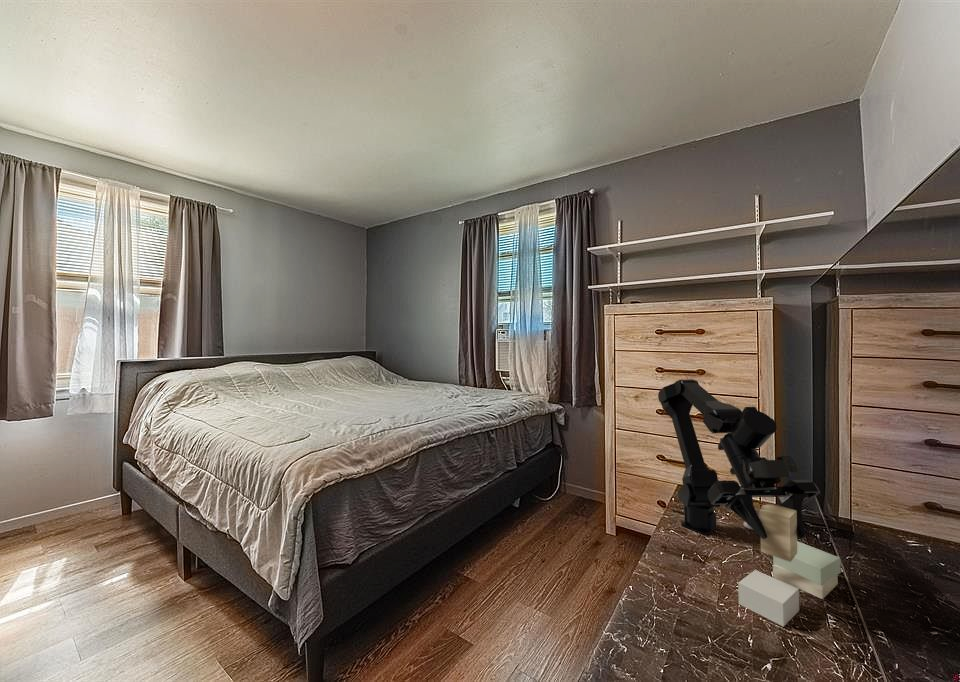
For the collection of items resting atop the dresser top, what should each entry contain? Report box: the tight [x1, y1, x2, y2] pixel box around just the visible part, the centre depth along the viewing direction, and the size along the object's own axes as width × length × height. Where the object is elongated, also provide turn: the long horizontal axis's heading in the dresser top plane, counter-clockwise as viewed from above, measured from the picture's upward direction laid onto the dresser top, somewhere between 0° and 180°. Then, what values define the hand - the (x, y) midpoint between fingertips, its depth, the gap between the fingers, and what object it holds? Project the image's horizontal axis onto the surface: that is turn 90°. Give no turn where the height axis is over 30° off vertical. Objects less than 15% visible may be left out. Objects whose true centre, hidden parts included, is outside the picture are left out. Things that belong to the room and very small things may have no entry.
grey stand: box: [737, 569, 800, 628], centre depth 71 cm, size 7×7×4 cm
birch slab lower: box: [772, 564, 839, 600], centre depth 78 cm, size 8×8×3 cm
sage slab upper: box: [772, 540, 842, 585], centre depth 78 cm, size 8×8×3 cm
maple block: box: [759, 502, 798, 562], centre depth 72 cm, size 4×4×8 cm
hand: (784, 538), depth 71 cm, fingers closed on maple block, 6 cm apart
